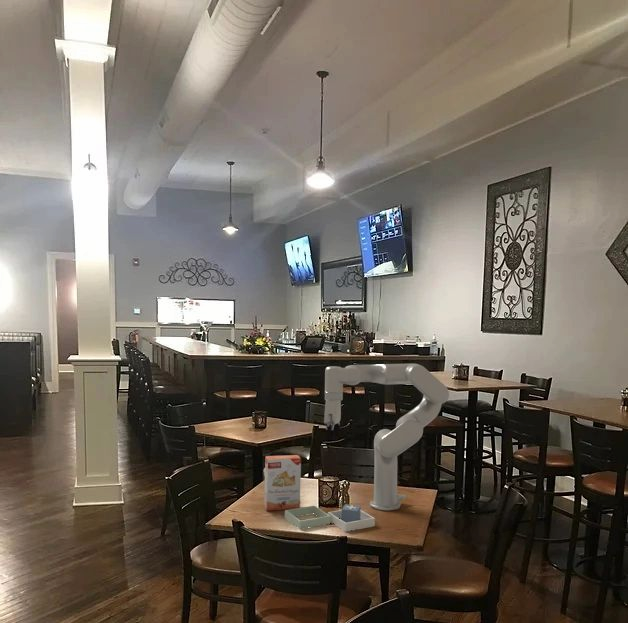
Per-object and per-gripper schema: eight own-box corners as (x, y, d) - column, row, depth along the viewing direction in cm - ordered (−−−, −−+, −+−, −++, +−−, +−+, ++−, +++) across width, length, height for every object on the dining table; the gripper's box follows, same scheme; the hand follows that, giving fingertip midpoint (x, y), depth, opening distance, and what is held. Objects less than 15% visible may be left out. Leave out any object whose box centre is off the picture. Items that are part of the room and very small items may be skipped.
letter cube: (345, 519, 214) (345, 503, 214) (360, 521, 212) (360, 505, 212) (341, 525, 208) (341, 508, 208) (356, 527, 206) (357, 510, 206)
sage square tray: (314, 513, 220) (314, 505, 220) (330, 524, 209) (330, 516, 209) (284, 518, 214) (284, 510, 214) (299, 529, 203) (300, 521, 203)
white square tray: (356, 515, 219) (356, 507, 219) (374, 526, 208) (374, 518, 208) (327, 520, 213) (327, 512, 213) (345, 531, 201) (345, 523, 201)
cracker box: (266, 511, 221) (267, 459, 221) (263, 506, 227) (264, 455, 227) (300, 509, 225) (301, 457, 225) (296, 504, 230) (297, 454, 231)
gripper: (330, 393, 240) (329, 432, 240) (319, 398, 223) (318, 440, 223) (347, 394, 238) (346, 433, 237) (337, 399, 221) (336, 442, 221)
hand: (332, 437), depth 230 cm, fingers open, 9 cm apart
